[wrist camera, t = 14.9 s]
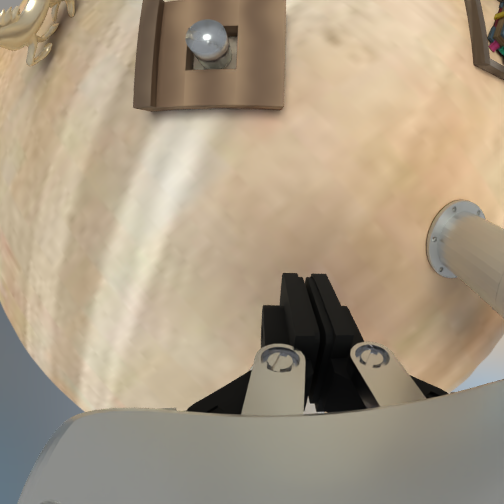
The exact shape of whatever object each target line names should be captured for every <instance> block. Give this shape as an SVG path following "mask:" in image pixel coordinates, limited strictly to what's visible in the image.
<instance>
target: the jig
mask: <svg viewBox="0 0 504 504" xmlns="http://www.w3.org/2000/svg"><path fill="white" fill-rule="evenodd" d="M206 19H210V20H215V21H217V22H219V23H221V24H222V25H223V27H224V28H225V31H226V34H227V36H238V40H237V63H236V69H207V70H193V57H194V53H193V52H192V51H191V50H190V48H189V47H188V46H187V44H186V40H185V37H186V33H187V31H188V29H189V28H190V27H191V26H192V25H193V24H194V23H196V22H198V21H201V20H206ZM285 33H286V0H178V1H170V2H164V1H163V0H143V3H142V10H141V17H140V25H139V33H138V42H137V53H136V65H135V80H134V100H133V108H136V109H141V110H146V111H151V112H152V111H165V110H182V109H211V108H241V109H271V110H281V109H282V108H283V107H284V77H285Z"/></svg>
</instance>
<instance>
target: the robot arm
mask: <svg viewBox="0 0 504 504" xmlns="http://www.w3.org/2000/svg"><path fill="white" fill-rule="evenodd" d="M427 256H428V260H429V263H430V265H431V266H432V268H433V269H434V270H435V271H436V272H437V273H438V274H439V275H441V276H443V277H446V278H456V277H458V278H459V279H460V280H462V281H463V282H464V283H465V284H466V285H467V286H468V287H470V288H471V289H472V290H473V291H474V292H475V293H476V294H478V295H479V296H480V297H481V298H482V299H483V300H484V301H485V302H486V303H487V304H489V305H490V306H491V307H492V308H493V309H494V310H495V311H496V312H497V313H498V314H499V315H500V316H501V317H502V318H503V319H504V229H503V228H501V227H499V226H497V225H495V224H493V223H491V222H489V221H487V220H486V219H485V216H484V214H483V212H482V210H481V209H480V208H479V207H478V206H477V205H476V204H474V203H472V202H470V201H467V200H456V201H454V202H451V203H449V204H448V205H446V206H445V207H444V208H443V209H442V210H441V211H440V212H439V213H438V215H437V216H436V217H435V219H434V221H433V223H432V225H431V228H430V230H429V234H428V238H427ZM308 397H309V402H310V404H315V409H316V412H328V413H315V414H303V412H304V411H305V407H306V403H307V399H308ZM17 504H504V379H502V380H499V381H495V382H491V383H487V384H484V385H481V386H477V387H474V388H470V389H467V390H462V391H459V392H451V393H450V394H448V393H447V392H445V391H443V390H442V389H440V388H437V387H435V386H433V385H431V384H428V383H426V382H424V381H422V380H419V379H417V378H415V377H413V376H410V375H409V374H408V373H407V371H406V370H405V369H404V367H403V366H402V365H401V363H400V362H399V361H398V359H397V358H396V357H395V356H394V354H393V353H392V352H391V351H390V350H389V349H388V348H387V347H385V346H384V345H382V344H379V343H376V342H364V340H363V338H362V336H361V334H360V332H359V329H358V327H357V325H356V323H355V321H354V319H353V317H352V315H351V313H350V311H349V309H348V307H347V306H341V304H340V302H339V300H338V298H337V296H336V294H335V292H334V290H333V287H332V285H331V283H330V281H329V279H328V277H327V275H326V274H311V277H306V280H305V283H304V280H303V277H298V274H297V273H283V275H282V284H281V296H280V306H274V305H263V309H262V325H261V349H260V350H259V351H258V352H257V354H256V356H255V359H254V364H253V368H252V370H250V371H249V372H247V373H245V374H244V375H242V376H241V377H239V378H237V379H236V380H234V381H232V382H231V383H229V384H227V385H226V386H224V387H222V388H221V389H219V390H217V391H216V392H214V393H212V394H210V395H209V396H207V397H205V398H203V399H202V400H200V401H198V402H196V403H195V404H193V405H192V406H191V407H189V408H188V409H187V411H177V410H176V408H162V409H153V408H110V409H101V410H94V411H89V412H85V413H81V414H78V415H76V416H73V417H71V418H69V419H68V420H67V421H65V422H64V423H63V424H62V425H61V426H60V427H59V428H58V429H57V430H56V431H55V432H54V434H53V435H52V436H51V438H50V439H49V441H48V442H47V444H46V445H45V447H44V448H43V450H42V452H41V453H40V455H39V457H38V459H37V461H36V462H35V465H34V467H33V469H32V471H31V473H30V475H29V477H28V479H27V481H26V483H25V485H24V488H23V490H22V493H21V495H20V498H19V501H18V503H17Z"/></svg>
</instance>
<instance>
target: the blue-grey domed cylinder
mask: <svg viewBox="0 0 504 504" xmlns="http://www.w3.org/2000/svg"><path fill="white" fill-rule="evenodd" d="M185 40H186V44H187V46H188V47H189V48H190V50H191V51H192V52H193V53H194V55H195V56H196V57H197V59H198V60H199V61H200V63H201V64H202V65H203V66H204V67H205V68H206V69H223V68H225V67H226V66H227V65H228V64H229V63H230V61H231V59H232V52H231V48H230V45H229V41H228V38H227V34H226V31H225V28H224V27H223V25H222V24H221V23H219V22H217V21H215V20H210V19H206V20H201V21H198V22H196V23H194V24H193V25H192V26H191V27H190V28H189V29H188V31H187V33H186V37H185Z"/></svg>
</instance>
